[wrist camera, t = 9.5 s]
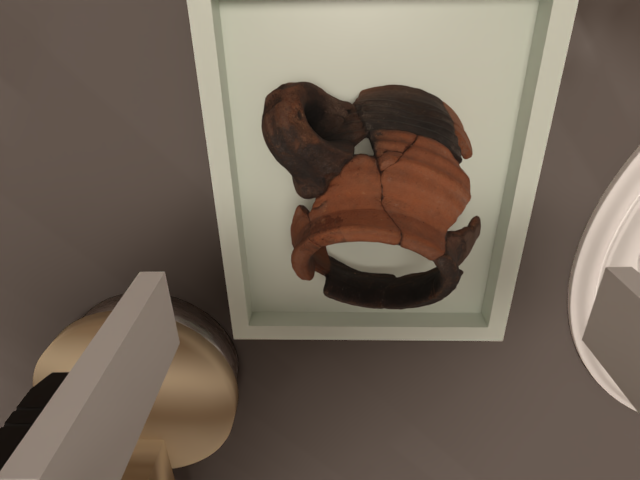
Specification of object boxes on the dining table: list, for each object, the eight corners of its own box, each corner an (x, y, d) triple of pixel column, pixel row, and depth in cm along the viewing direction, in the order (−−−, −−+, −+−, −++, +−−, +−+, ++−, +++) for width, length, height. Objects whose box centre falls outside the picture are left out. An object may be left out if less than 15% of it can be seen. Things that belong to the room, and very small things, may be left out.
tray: (239, 318, 29) (233, 339, 27) (196, -26, 20) (182, -29, 18) (492, 319, 28) (502, 341, 26) (563, -34, 19) (587, -38, 17)
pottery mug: (513, 150, 23) (528, 294, 18) (375, 213, 29) (362, 332, 25) (350, -29, 17) (313, 123, 12) (221, 101, 23) (168, 232, 19)
